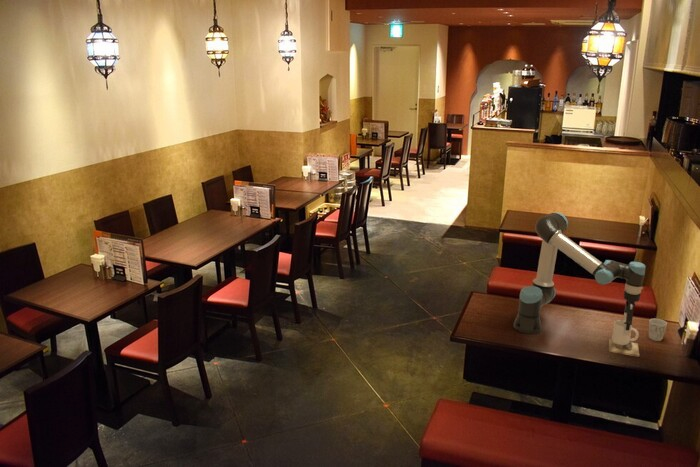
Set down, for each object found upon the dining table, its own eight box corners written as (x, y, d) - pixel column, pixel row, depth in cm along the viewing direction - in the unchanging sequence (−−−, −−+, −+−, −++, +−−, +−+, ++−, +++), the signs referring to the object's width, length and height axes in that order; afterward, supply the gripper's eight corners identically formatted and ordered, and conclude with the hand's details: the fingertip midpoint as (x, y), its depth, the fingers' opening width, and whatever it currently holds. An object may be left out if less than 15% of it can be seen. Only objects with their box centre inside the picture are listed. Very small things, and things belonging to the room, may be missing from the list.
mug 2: (651, 331, 312) (654, 315, 309) (668, 336, 306) (671, 320, 304) (644, 338, 305) (647, 321, 302) (661, 343, 299) (664, 326, 296)
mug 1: (637, 341, 293) (640, 323, 290) (636, 348, 286) (639, 330, 283) (612, 336, 299) (615, 318, 296) (610, 342, 292) (613, 324, 289)
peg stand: (609, 351, 290) (609, 345, 289) (608, 340, 302) (609, 334, 301) (639, 357, 285) (640, 350, 284) (637, 345, 297) (638, 339, 296)
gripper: (642, 302, 272) (634, 341, 278) (639, 284, 294) (632, 321, 300) (625, 299, 275) (618, 338, 281) (623, 282, 297) (617, 318, 303)
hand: (625, 329), depth 291 cm, fingers open, 13 cm apart
